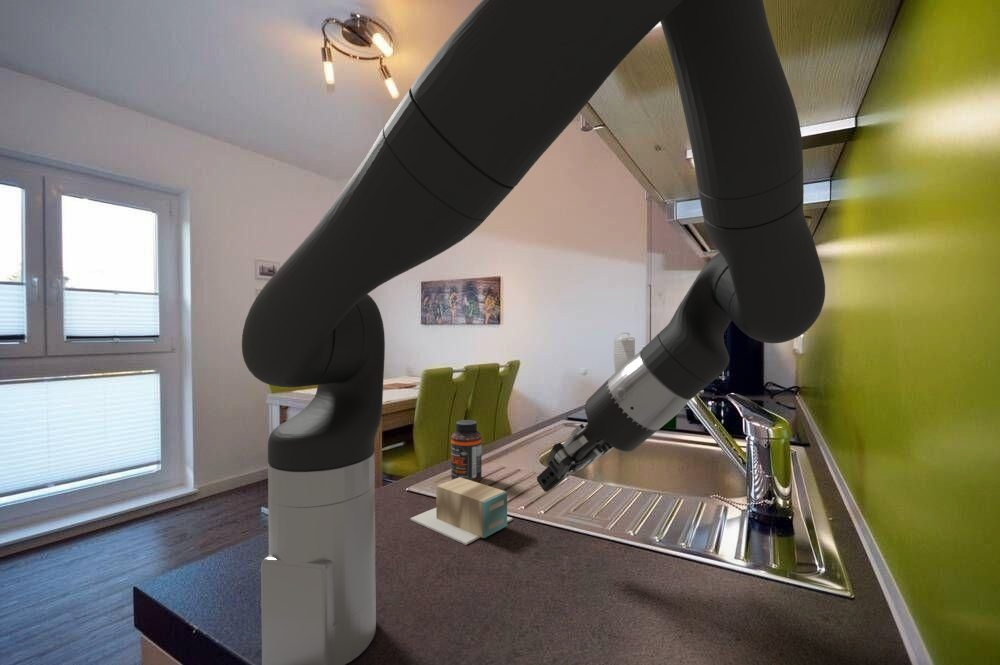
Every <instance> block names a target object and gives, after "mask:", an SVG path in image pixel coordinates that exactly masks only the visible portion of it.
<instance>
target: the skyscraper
mask: <svg viewBox="0 0 1000 665" xmlns="http://www.w3.org/2000/svg"><path fill="white" fill-rule="evenodd" d="M620 335H627V336H625V337H624V336H622V337H621V336H620ZM630 335H631V334H630V333H629V332H620V333H618V334H617V335H616V336H614V338H613V345H612V346H613V352H612V353H613V366H614V368H613V369H614V373H615V372H616V371H617V370H618V369H619V368H620V367H621V366H622V365H623V364H625V363H626V362H627V361H628V360H629V359H631V358H632V357H634V356H635V355H636V338H635V337H630ZM619 336H620V337H619ZM617 337H619V339H617Z"/></svg>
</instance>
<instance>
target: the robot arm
mask: <svg viewBox="0 0 1000 665" xmlns="http://www.w3.org/2000/svg"><path fill="white" fill-rule="evenodd" d="M659 23H660V25H661V28H662V31H663V35H664V38H665V41H666V44H667V48H668V52H669V56H670V59H671V60H670V61H671V63H672V67H673V71H674V75H675V79H676V82H677V86H678V92H679V96H680V100H681V104H682V109H683V113H684V118H685V122H686V123H685V124H686V128H687V132H688V138H689V141H690V142H689V143H690V148H691V154H692V159H693V165H694V171H695V177H696V184H697V191H698V195H699V201H700V206H701V211H702V218H703V223H704V226H705V230H706V232H707V235H708V237H709V239H710V241H711V243H712V244H713V245H714V246H715V247H716V248H717V250H718V253H716V254H714V256H712V257H711V259H710V260H708V262H706V264H705V265H704V266H703V268H702V269H701V271H700V272H699V273H698V275H697V276H696V278H695V279H694V281H693V283H692V284H691V286H690V288H689V289H688V291H687V292H686V294H685V296H684V297H683V299H682V300H681V302H680V304H679V305H678V307H677V309H676V310H675V312H674V313H673V316H672V318H671V319H670V321H669V323H668V324H667V325H666V326H665V327H664V328H663V329H661V331H660V332H658V333H657V335H656V336H654V337H653V338H652V339H651V341H650V342H648V343H647V344H646V345H645V346H644V347H643V348H642V349H641V350H640V351H638V352H637V354H636V353H635V356H634V357H632V358H631V359H629V360H628V361H627V362H626V363H625V364H623V365H622V366H621V367H620V368H619V369H618V370H617V371H616V372H615V371H614V373H613V374H612V375H611V376H610V377H609V378H608V379H607V380H606V381H605V382H604V383H603V384H602V385H601V386H600V387H599V388H598V389H597V390H596V391H594V392H593V393H592V395H591V396H589V397H588V399H587V400H586V401H585V405H584V412H585V416H586V418H587V419H586V420H587V424H586V425H584V423H581V424H579V425H578V426H576V427H575V429H573V431H571V435H570V436H569V437H568V439H567V440H565V441H564V442H563V443H561V442H558V443H555V444H554V445H553V446H552V447H551V449H550V452H549V454H548V457H547V459H546V464H547V465H548V466H547V467H546V468H545V469H544V470H543V471H542V472H541V473H540V474H538V475H537V477H536V481H537V483H538V484H539V486H540V487H541V489H542V490H543V491H544V492H545V493H547V492H549V491H552V490H553V489H555V488H556V487H557V486H558V485H559V484H561V483H562V482H563V481H564V480H565V479H566V478H569V476H570V475H575V474H576V473H577V472H578V471H579V470H581V469H585V468H586V467H588V466H591V464H592V465H593V463H595V461H597V460H598V459H599V458H600V457H601V456H603V455H606V454H608V453H609V452H610V451H612V450H613V449H615V450H618V451H620V452H621V451H622V452H626V453H628V452H632V451H634V450H636V449H637V448H638V447H640V446H641V445H642V444H643V443H644V442H646V441H647V440H648V439H649V438H651V437H652V436H653V435H654V434H655V433H656V432H658V431H659V430H660V429H661V428H662V427H664V426H665V425H666V424H667V423H668V422H670V421H671V420H672V419H673V418H675V417H676V416H677V415H678V414H679V412H681V411H682V410H683V408H684V407H685V406H686V405H687V404H688V403H689V402H690V401H691V400H692V399H693V398H695V397H696V396H697V395H698V394H699V393H700V392H701V391H703V390H704V389H705V388H707V387H708V386H709V385H710V384H711V383H713V382H714V381H715V380H716V379H717V378H718V377H719V376H720V375H722V374H723V373H724V372H725V371H726V369H727V367H728V366H729V364H730V355H729V352H728V349H727V347H726V344H725V340H724V338H725V337H724V335H725V332H726V331H727V328H728V327H729V325H730V323H731V322H733V324H734V325H735V326H736V327H737V328H738V329H739V330H740V331H741V332H742V333H744V334H745V335H746V336H748V337H749V338H751V339H753V340H755V341H758V342H761V343H767V344H781V343H787V342H789V341H790V342H791V341H792V340H795V339H797V338H798V337H801V336H802V335H803V334H805V333H806V332H807V331H808V330H809V329H811V327H812V326H813V325H814V323H815V322H816V321H817V320H818V318H819V317H820V315H821V312H822V310H823V306H824V303H825V299H826V298H825V297H826V282H825V276H824V270H823V268H822V264H821V261H820V257H819V254H818V250H817V247H816V244H815V240H814V237H813V235H812V234H813V233H812V232H811V229H810V227H809V224H808V222H807V219H806V216H805V213H804V192H805V191H804V157H803V156H804V154H803V140H802V132H801V125H800V120H799V119H800V118H799V116H798V111H797V108H796V103H795V100H794V97H793V94H792V92H791V89H790V84H789V82H788V80H787V76H786V75H785V71H784V69H783V66H782V62H781V60H780V57H779V55H778V54H779V53H778V51H777V49H776V46H775V42H774V39H773V36H772V33H771V30H770V26H769V23H768V19H767V13H766V9H765V4H764V1H763V0H481V1H480V3H478V5H477V6H476V7H474V9H473V10H472V11H470V13H469V14H468V15H467V17H466V18H465V19H464V20H463V21H462V22H461V23H460V25H458V27H457V28H456V29H455V30H454V31H453V33H452V34H450V36H449V37H448V38H447V40H446V41H445V42H444V43H443V44H442V46H441V47H440V49H439V50H438V51H437V52H436V53H435V54H434V56H433V57H432V58H431V59H430V61H429V62H428V64H427V65H426V66H425V67H424V68H423V70H422V71H421V72H420V74H419V75H418V76H417V78H416V79H415V81H414V82H413V83H412V84H411V87H410V88H409V89H408V91H407V92H406V94H405V95H404V97H403V98H402V100H401V101H400V103H399V105H398V106H397V107H396V109H395V110H394V111H393V113H392V114H391V116H390V118H389V119H388V121H387V122H386V123H385V125H384V126H383V127H382V129H381V131H380V132H379V134H378V136H377V138H376V140H375V141H374V142H373V145H372V146H371V148H369V151H368V152H367V154H366V156H365V157H364V159H363V161H361V163H360V165H359V166H358V168H357V169H356V171H355V172H354V173H353V175H352V177H351V178H350V179H349V181H348V182H347V183H346V184H345V186H344V188H343V189H342V191H341V192H340V193H339V194H338V196H337V197H336V198H335V200H334V201H333V203H332V205H331V206H330V207H329V209H328V210H326V213H324V215H323V217H321V219H320V220H319V222H318V223H316V226H315V227H314V228H313V229H312V231H310V233H309V234H308V236H307V237H306V238H305V239H304V240H303V241H302V242H301V243H300V244H299V246H298V247H297V248H296V249H295V250H294V252H292V253H291V255H290V256H289V257H288V258H287V259H286V260H285V262H283V263H282V265H281V266H280V267H279V268H278V269H277V271H275V273H274V274H273V275H272V276H271V277H270V279H269V280H267V282H266V284H265V285H264V286H263V287H262V289H261V290H260V292H259V293H258V294H257V296H256V297H255V299H254V301H253V302H252V304H251V306H250V309H249V310H248V313H247V315H246V317H245V319H244V325H243V329H242V336H241V353H242V358H243V361H244V363H245V366H246V368H247V369H248V371H249V372H250V373H251V374H252V376H253V377H255V379H257V380H259V381H260V382H262V383H264V384H267V385H269V386H273V387H281V388H303V387H310V386H311V387H312V386H316V393H315V395H314V397H313V398H312V399H311V401H310V402H309V403H308V405H307V406H305V407H304V408H303V409H302V410H301V411H299V413H296V414H295V415H294V416H292V417H291V418H289V419H287V420H286V421H284V422H282V423H281V424H279V425H277V426H276V427H275V428H274V429H272V431H271V433H270V435H269V438H268V441H267V469H268V470H267V478H268V482H267V484H268V485H267V488H268V491H267V492H268V494H267V495H268V497H267V501H268V504H267V507H268V555H267V556H266V557H265V558H264V559H263V560H262V561H261V565H260V570H261V571H260V576H261V577H260V578H261V579H260V580H261V583H260V584H261V586H260V587H261V589H260V591H261V597H260V598H261V665H347V664H349V663H350V662H352V661H353V660H355V659H356V658H358V657H359V656H360V655H361V654H362V653H364V652H365V650H366V649H367V648H368V647H369V645H370V644H371V642H372V641H373V639H374V638H375V635H376V631H377V630H376V628H377V610H376V608H377V606H376V603H377V601H376V595H377V594H376V591H377V590H376V505H375V504H376V502H375V501H376V495H375V494H376V493H375V492H376V490H375V489H376V488H375V485H376V484H375V482H376V478H375V477H376V474H375V473H376V472H375V470H376V469H375V468H376V467H375V465H376V464H375V449H376V447H375V443H376V442H375V440H376V435H377V432H378V429H379V427H380V424H381V419H382V416H383V415H382V414H383V401H384V400H383V397H384V378H385V377H384V374H385V373H384V372H385V357H386V356H385V354H386V353H385V350H386V342H385V341H386V340H385V337H386V336H385V327H384V322H383V317H382V314H381V312H380V309H379V307H378V304H377V303H376V301H375V300H374V299H373V297H372V296H371V295H369V293H371V292H373V291H374V290H375V289H377V288H378V287H380V286H382V285H383V284H386V283H387V282H388V281H390V280H392V279H394V278H396V277H398V276H400V275H401V274H402V275H403V273H405V272H408V271H409V270H411V269H414V268H416V267H418V266H419V265H421V264H423V263H426V262H427V261H429V260H431V259H434V258H435V257H437V256H438V255H441V254H442V253H444V252H445V251H447V250H449V249H450V248H452V247H454V246H455V245H457V244H459V243H460V242H462V241H463V240H465V238H467V237H468V236H469V235H471V234H472V233H473V232H474V231H475V230H477V229H478V228H479V227H480V226H481V225H482V224H483V223H484V222H485V221H486V219H487V218H488V217H489V216H490V215H491V214H492V212H494V210H495V209H496V208H497V207H498V206H500V204H501V203H502V202H503V201H504V200H505V199H506V198H507V197H508V195H509V194H510V193H511V192H513V190H514V188H515V187H517V185H519V183H520V182H521V181H522V179H523V178H524V177H525V175H527V173H528V172H529V171H530V170H531V169H532V168H533V166H534V165H535V164H536V162H538V161H539V160H540V158H541V157H542V156H543V155H544V153H545V152H547V150H548V149H549V148H550V147H551V146H552V144H553V143H554V142H555V141H556V140H557V139H558V138H559V136H561V134H562V133H563V132H564V131H565V129H566V128H567V127H568V126H569V125H570V124H571V123H572V122H573V120H574V119H575V118H576V117H577V116H578V114H580V112H581V111H582V110H583V109H584V107H585V106H586V105H587V104H588V102H589V101H590V100H591V98H593V96H594V95H595V94H596V93H597V91H598V90H599V89H600V88H601V86H602V85H603V84H604V83H605V81H607V79H608V78H609V77H610V75H611V74H612V73H613V72H614V70H615V69H616V68H617V67H619V65H620V64H621V63H622V61H623V60H624V59H625V58H626V57H627V56H628V54H630V53H631V52H632V50H634V48H636V46H637V45H638V44H639V43H640V42H641V41H642V40H643V39H644V38H645V37H646V36H647V35H648V34H649V33H650V32H651V31H652V30H653V29H654V28H655V27H656V26H658V24H659Z"/></svg>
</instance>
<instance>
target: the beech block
mask: <svg viewBox="0 0 1000 665" xmlns="http://www.w3.org/2000/svg"><path fill="white" fill-rule="evenodd" d="M435 487H436V494H435V495H436V496H435V499H436V507H435V508H436V514H437V519H439V520H441V521H444V522H446V523H449V524H451V525H453V526H456V527H458V528H461V529H463V530H465V531H468V532H470V533H472V534H475V535H477V536H480V538H482V539H486V538H488V537H489V536H491V535H493V534H494V533H496V532H499V531H501V530H502V529H504V528H506V527H507V526H508V523H507V516H508V491H506V490H503V489H499V488H496V487H494V486H490V485H487V484H484V483H480V482H474V481H471V480H467V479H464V478H461V477H459V478H456V479H453V480H452V479H451V480H448V481H446V482H444V483H443V482H442V483H440V484H437V485H436V486H435Z"/></svg>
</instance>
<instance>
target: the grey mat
mask: <svg viewBox="0 0 1000 665" xmlns="http://www.w3.org/2000/svg"><path fill="white" fill-rule="evenodd" d="M410 521H411V522H414V523H416V524H418V525H420V526H423V527H425V528H428V529H429V530H432V531H434V532H437V534H440V535H443V536H445V537H447V538H449V539H452V540H453V541H455V542H456V541H457V542H459V543H461V544H462V545H465V546H466V545H469V544H471V543H473V542H474V541H476V540H478V539H480V538H481V537H480V536H477V535H475V534H472V533H470V532H468V531H465V530H463V529H461V528H458V527H456V526H453V525H451V524H449V523H446V522H444V521H441V520H439V519H437V514H436V507H434V508H432V509H429V510H426V511H424V512H422V513H420V514H417V515H415V516H412V517H410ZM511 521H513V517H510V516H508V515H507V524H508V523H510V522H511Z"/></svg>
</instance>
